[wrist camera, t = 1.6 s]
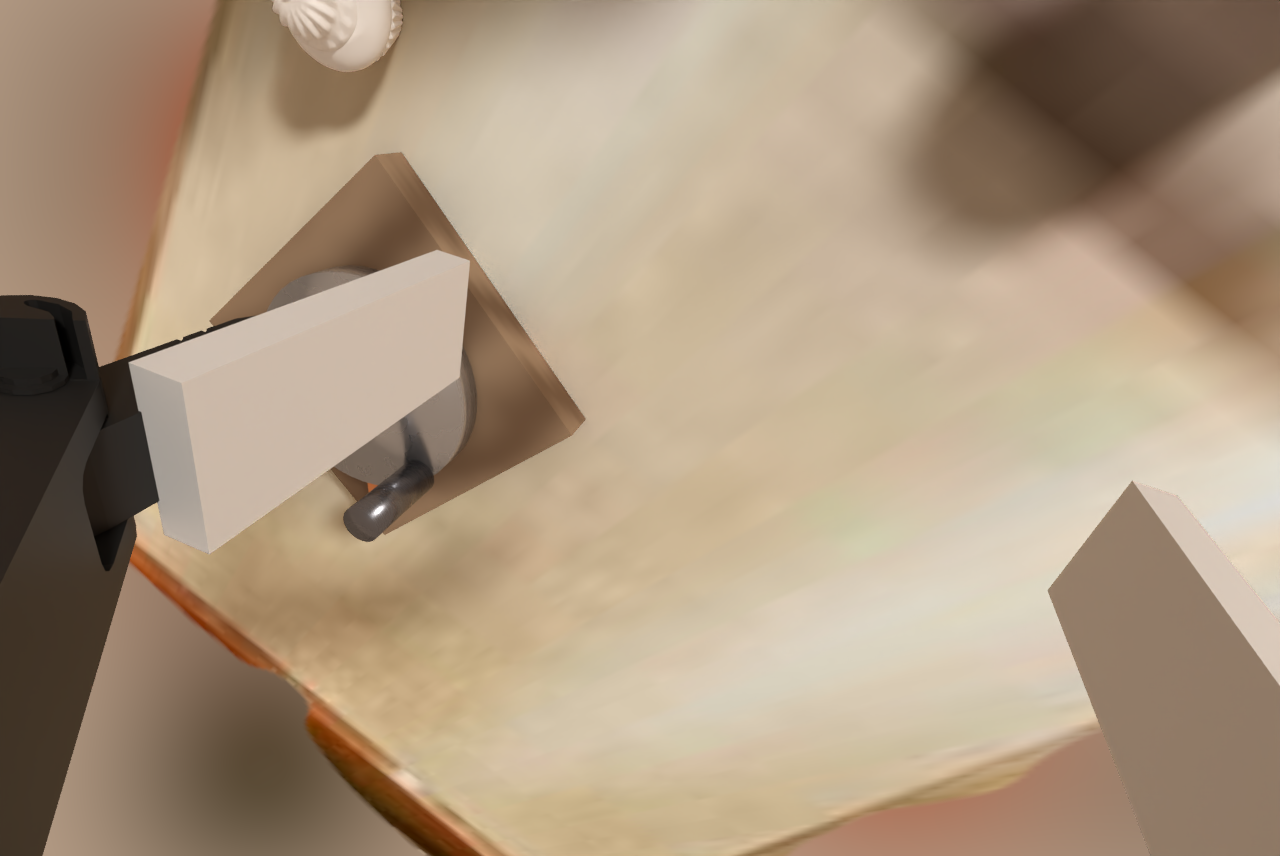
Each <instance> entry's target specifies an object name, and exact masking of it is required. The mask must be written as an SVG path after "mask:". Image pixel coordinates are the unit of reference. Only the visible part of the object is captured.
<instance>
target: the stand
mask: <svg viewBox="0 0 1280 856" xmlns="http://www.w3.org/2000/svg"><path fill="white" fill-rule="evenodd" d="M435 250H439V251H442V252H445V253H448V254H451V255H454V256H457V257H460V258H463V259H466V260H469V261H470V267H469V278H468V289H467V301H466V312H465V323H464V334H463V345H462V346H463V347H464V349H465V351H466V354H467V356H468V359H469V362H470V364H471V367H472V371H473V375H474V379H475V384H476V391H477V412H476V420H475V424H474V427H473V431H472V433H471V436H470V438H469V440H468V442H467V444H466V445H465V446H464V448H463V449H462V451H461V452H460V453H459V454H458V455H457V456H456V457H455V458H454V459H453V460H452V461H450V462H449V463H448V464H447V465H446V466H445V467H444V468H443V469H441V470H440V471H439V472H438V473H437V474H435V475H434V485H433V487H432V488H431V489H430V490H429V491H428V492H427V493H426V494H424V495H423V496H422V497H421V498H420V499H419V500H418V501H417V502H416V503H414V504H413V505H412V506H411V507H410V508H409V509H408V510H407V511H406V512H405V513H403V514H402V515H401V516H400V517H399V518H398V519H397V520H396V521H395V522H393V523H392V524H391V525H390V526H389V527H388V528H387V529H386V530H385V531H384V532H383V533H384V535H385V534H387V533H389V532H391V531H393V530H395V529H397V528H399V527H400V526H402V525H404V524H406V523H408V522H410V521H412V520H414V519H416V518H417V517H419V516H421V515H423V514H425V513H427V512H429V511H431V510H432V509H434V508H436V507H438V506H440V505H442V504H444V503H446V502H447V501H449V500H451V499H453V498H455V497H457V496H459V495H461V494H463V493H464V492H466V491H468V490H470V489H472V488H474V487H476V486H478V485H479V484H481V483H483V482H485V481H487V480H489V479H491V478H493V477H495V476H496V475H498V474H500V473H502V472H504V471H506V470H508V469H510V468H511V467H513V466H515V465H517V464H519V463H521V462H523V461H525V460H527V459H528V458H530V457H532V456H534V455H536V454H538V453H540V452H542V451H543V450H545V449H547V448H549V447H551V446H553V445H555V444H557V443H558V442H560V441H562V440H564V439H566V438H568V437H570V436H572V435H573V433H574V432H575V431H576V430H577V429H578V428H579V426H580V425H581V424H582V423H583V422H584V421H585V418H584V416H583V415H582V413H581V412H580V410H579V409H578V407H577V406H576V404H575V403H574V402H573V400H572V399H571V397H570V396H569V394H568V393H567V391H566V390H565V389H564V387H563V386H562V384H561V383H560V381H559V380H558V378H557V377H556V376H555V374H554V373H553V371H552V370H551V368H550V367H549V365H548V364H547V362H546V361H545V360H544V358H543V357H542V355H541V354H540V352H539V351H538V349H537V348H536V347H535V345H534V344H533V342H532V341H531V339H530V338H529V336H528V335H527V334H526V332H525V331H524V329H523V328H522V326H521V325H520V323H519V322H518V321H517V319H516V318H515V316H514V315H513V313H512V312H511V310H510V309H509V307H508V306H507V305H506V303H505V302H504V300H503V299H502V297H501V296H500V294H499V293H498V292H497V290H496V289H495V287H494V286H493V284H492V283H491V281H490V280H489V279H488V277H487V276H486V274H485V273H484V271H483V270H482V268H481V267H480V266H479V264H478V263H477V261H476V260H475V258H474V257H473V255H472V254H471V252H470V251H469V250H468V248H467V247H466V245H465V244H464V242H463V241H462V239H461V238H460V237H459V235H458V234H457V232H456V231H455V229H454V228H453V226H452V225H451V224H450V222H449V221H448V219H447V218H446V216H445V215H444V213H443V212H442V210H441V209H440V208H439V206H438V205H437V203H436V202H435V200H434V199H433V197H432V196H431V195H430V193H429V192H428V190H427V189H426V187H425V186H424V184H423V183H422V182H421V180H420V179H419V177H418V176H417V174H416V173H415V171H414V170H413V169H412V167H411V166H410V164H409V163H408V161H407V160H406V158H405V157H404V155H403V154H402V153H401V152H400V153H391V154H381V155H375V156H374V157H373V158H372V159H371V160H370V161H369V162H368V163H367V164H366V165H365V166H364V167H363V168H362V169H361V170H360V171H359V172H358V173H357V174H356V175H355V176H354V177H353V178H352V179H351V180H350V181H349V182H348V183H347V184H346V185H345V186H344V187H343V188H342V189H341V190H340V191H339V192H338V193H337V194H336V195H335V196H334V197H333V198H332V199H331V200H330V201H329V202H328V203H327V204H326V205H325V206H324V207H323V208H322V209H321V210H320V211H319V212H318V213H317V214H316V215H315V216H314V217H313V218H312V219H311V220H310V221H309V222H308V223H307V224H306V225H305V226H304V227H303V228H302V229H301V230H300V231H299V232H298V233H297V234H296V235H295V236H294V237H293V238H292V239H291V240H290V241H289V242H288V243H287V244H286V245H285V246H284V247H283V248H282V249H281V250H280V251H279V252H278V253H277V254H276V255H275V256H274V257H273V258H272V259H271V260H270V261H269V262H268V263H267V264H266V265H265V266H264V267H263V268H262V269H261V270H260V271H259V272H258V273H257V274H256V275H255V276H254V277H253V278H252V279H251V280H250V281H249V282H248V283H247V284H246V285H245V286H244V287H243V288H242V289H241V290H240V291H239V292H238V293H237V294H236V295H235V296H234V297H233V298H232V299H231V300H230V301H229V302H228V303H227V304H226V305H225V306H224V307H223V308H222V309H221V310H220V311H219V312H218V313H217V314H216V315H215V316H214V317H213V318H212V319H211V320H210V322H211V323H212V325H213V326H216V325H219V324H222V323H225V322H227V321H230V320H233V319H236V318H243V317H249V316H256V315H260V314H263V313H265V312H267V309H268V307H269V305H270V304H271V302H272V300H273V299H274V297H275V296H276V295H277V294H278V293H279V291H280V290H281V289H282V288H284V287H285V286H286V285H287V284H289V283H290V282H292V281H294V280H296V279H298V278H300V277H302V276H305V275H309V274H312V273H315V272H318V271H322V270H325V269H328V268H332V267H335V266H345V265H353V266H364V267H368V268H373V269H377V270H379V271H380V270H383V269H386V268H389V267H391V266H394V265H397V264H400V263H402V262H405V261H408V260H411V259H413V258H416V257H419V256H422V255H424V254H427V253H430V252H433V251H435ZM331 470H332V471H333V472H334V474H335V475H336V476H337V477H338V478H339V480H340V481H341V482H342V483H343V485H344V486H345V487H346V488H347V489H348V491H349V492H350V493H351V494H352V496H353V497H354V498H355V499H356V500H357V502H358V501H359V500H360V499H361V498H363V497H364V496H365V495H366V494H368V493H369V491H368V483H367V482H364V481H361V480H358V479H356V478H354V477H351V476H349V475H347V474H345V473H344V472H342V471H340V470H338V469H337V468H335V467H332V468H331Z"/></svg>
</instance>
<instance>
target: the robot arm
mask: <svg viewBox="0 0 1280 856" xmlns="http://www.w3.org/2000/svg"><path fill="white" fill-rule="evenodd" d="M469 267H470V261H469V260H466V259H463V258H460V257H457V256H454V255H451V254H448V253H445V252H442V251H439V250H435V251H433V252H430V253H427V254H424V255H422V256H419V257H416V258H413V259H411V260H408V261H405V262H402V263H400V264H397V265H394V266H391V267H389V268H386V269H383V270H380V271H378V272H375V273H372V274H369V275H367V276H364V277H361V278H359V279H356V280H353V281H350V282H348V283H345V284H342V285H339V286H337V287H334V288H331V289H328V290H326V291H323V292H320V293H317V294H315V295H312V296H309V297H306V298H304V299H301V300H298V301H296V302H293V303H290V304H287V305H285V306H282V307H279V308H276V309H274V310H271V311H268V312H265V313H263V314H260V315H256V316H249V317H243V318H236V319H233V320H230V321H227V322H225V323H222V324H219V325H216V326H213V327H211V328H208V329H207V331H206V332H203V331H199V332H197V333H194V334H191V335H188V336H185V337H183V340H182V341H180V340H174V341H171V342H169V343H166V344H163V345H160V346H157V347H155V348H152V349H149V350H146V351H143V352H141V353H138V354H135V355H132V356H129V357H127V358H124V359H121V360H118V361H115V362H113V363H110V364H107V365H104V366H101V367H99V366H98V362H97V358H96V353H95V349H94V345H93V341H92V336H91V332H90V328H89V324H88V319H87V315H86V312H85V311H84V310H83V309H82V308H80V307H79V306H78V305H76V304H75V303H71V302H67V301H64V300H61V299H58V298H51V297H42V296H33V295H8V296H0V856H42V855H43V852H44V848H45V845H46V842H47V838H48V835H49V831H50V828H51V825H52V821H53V818H54V815H55V811H56V808H57V804H58V801H59V798H60V794H61V791H62V787H63V784H64V781H65V777H66V774H67V770H68V767H69V764H70V760H71V757H72V754H73V750H74V747H75V743H76V740H77V737H78V733H79V730H80V727H81V723H82V720H83V716H84V713H85V710H86V706H87V703H88V699H89V696H90V692H91V689H92V686H93V682H94V679H95V676H96V672H97V669H98V666H99V662H100V659H101V655H102V652H103V648H104V645H105V642H106V639H107V635H108V632H109V628H110V625H111V621H112V618H113V615H114V611H115V608H116V605H117V601H118V598H119V595H120V591H121V588H122V584H123V581H124V577H125V574H126V571H127V567H128V564H129V561H130V557H131V554H132V551H133V547H134V544H135V540H136V537H137V534H136V524H135V520H134V515H136V514H137V513H139V512H141V511H142V510H144V509H146V508H148V507H149V506H151V505H153V504H155V503H156V502H157V503H158V508H159V513H160V517H161V522H162V527H163V532H164V535H166V536H168V537H170V538H173V539H175V540H177V541H180V542H182V543H184V544H187V545H189V546H191V547H193V548H196V549H198V550H200V551H203V552H205V553H207V554H211V553H212V552H213V551H215V550H216V549H218V548H219V547H220V546H222V545H223V544H225V543H226V542H228V541H229V540H230V539H232V538H233V537H235V536H236V535H237V534H239V533H240V532H242V531H243V530H245V529H246V528H247V527H249V526H250V525H252V524H253V523H254V522H256V521H257V520H259V519H260V518H261V517H263V516H264V515H266V514H267V513H269V512H270V511H271V510H273V509H274V508H276V507H277V506H278V505H280V504H281V503H283V502H284V501H286V500H287V499H288V498H290V497H291V496H293V495H294V494H295V493H297V492H298V491H300V490H301V489H302V488H304V487H305V486H307V485H308V484H310V483H311V482H312V481H314V480H315V479H317V478H318V477H319V476H321V475H322V474H324V473H325V472H327V471H328V470H329V469H331V468H332V467H334V466H335V465H336V464H338V463H339V462H341V461H342V460H344V459H345V458H346V457H348V456H349V455H351V454H352V453H353V452H355V451H356V450H358V449H359V448H360V447H362V446H363V445H365V444H366V443H368V442H369V441H370V440H372V439H373V438H375V437H376V436H377V435H379V434H380V433H382V432H383V431H385V430H386V429H387V428H389V427H390V426H392V425H393V424H394V423H396V422H397V421H399V420H400V419H401V418H403V417H404V416H406V415H407V414H409V413H410V412H411V411H413V410H414V409H416V408H417V407H418V406H420V405H421V404H423V403H424V402H426V401H427V400H428V399H430V398H431V397H433V396H434V395H435V394H437V393H438V392H440V391H441V390H442V389H444V388H445V387H447V386H448V385H450V384H451V383H452V382H454V381H455V380H457V379H458V378H459V377H460V367H461V356H462V345H463V334H464V323H465V312H466V301H467V289H468V278H469ZM1048 593H1049V595H1050V598H1051V600H1052V603H1053V605H1054V608H1055V611H1056V613H1057V616H1058V618H1059V621H1060V624H1061V626H1062V629H1063V631H1064V634H1065V636H1066V639H1067V642H1068V644H1069V647H1070V649H1071V652H1072V655H1073V657H1074V660H1075V662H1076V665H1077V667H1078V670H1079V673H1080V675H1081V678H1082V680H1083V683H1084V685H1085V688H1086V691H1087V693H1088V696H1089V698H1090V701H1091V704H1092V706H1093V709H1094V711H1095V714H1096V716H1097V719H1098V722H1099V724H1100V727H1101V729H1102V732H1103V734H1104V737H1105V740H1106V742H1107V745H1108V747H1109V750H1110V752H1111V755H1112V758H1113V760H1114V763H1115V765H1116V768H1117V771H1118V773H1119V776H1120V778H1121V781H1122V783H1123V786H1124V789H1125V791H1126V794H1127V796H1128V799H1129V802H1130V804H1131V807H1132V809H1133V812H1134V814H1135V817H1136V819H1137V822H1138V825H1139V827H1140V830H1141V833H1142V835H1143V838H1144V840H1145V843H1146V845H1147V848H1148V850H1149V853H1150V856H1280V622H1279V621H1278V620H1277V618H1276V617H1275V616H1274V615H1273V613H1272V612H1271V611H1270V610H1269V608H1268V607H1267V606H1266V605H1265V603H1264V602H1263V601H1262V600H1261V598H1260V597H1259V596H1258V595H1257V594H1256V592H1255V591H1254V590H1253V589H1252V587H1251V586H1250V585H1249V584H1248V582H1247V581H1246V580H1245V579H1244V577H1243V576H1242V575H1241V574H1240V572H1239V571H1238V570H1237V569H1236V567H1235V566H1234V565H1233V564H1232V562H1231V561H1230V560H1229V559H1228V558H1227V556H1226V555H1225V554H1224V553H1223V551H1222V550H1221V549H1220V548H1219V546H1218V545H1217V544H1216V543H1215V541H1214V540H1213V539H1212V538H1211V536H1210V535H1209V534H1208V533H1207V531H1206V530H1205V529H1204V528H1203V526H1202V525H1201V524H1200V523H1199V522H1198V520H1197V519H1196V518H1195V517H1194V515H1193V514H1192V513H1191V512H1190V510H1189V509H1188V508H1187V507H1186V505H1185V504H1184V503H1183V502H1182V500H1181V499H1180V498H1179V497H1178V496H1177V495H1174V494H1171V493H1168V492H1165V491H1162V490H1159V489H1156V488H1153V487H1150V486H1147V485H1144V484H1141V483H1138V482H1135V481H1132V482H1131V483H1130V484H1129V486H1128V487H1127V488H1126V490H1125V491H1124V492H1123V493H1122V495H1121V496H1120V497H1119V499H1118V500H1117V501H1116V503H1115V504H1114V505H1113V506H1112V508H1111V509H1110V510H1109V512H1108V513H1107V514H1106V515H1105V517H1104V518H1103V519H1102V521H1101V522H1100V523H1099V525H1098V526H1097V527H1096V528H1095V530H1094V531H1093V532H1092V534H1091V535H1090V536H1089V538H1088V539H1087V540H1086V541H1085V543H1084V544H1083V545H1082V547H1081V548H1080V549H1079V550H1078V552H1077V553H1076V554H1075V556H1074V557H1073V558H1072V560H1071V561H1070V562H1069V563H1068V565H1067V566H1066V567H1065V569H1064V570H1063V571H1062V572H1061V574H1060V575H1059V576H1058V578H1057V579H1056V580H1055V582H1054V583H1053V584H1052V585H1051V587H1050V588H1049V589H1048Z"/></svg>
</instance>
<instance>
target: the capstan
mask: <svg viewBox="0 0 1280 856" xmlns="http://www.w3.org/2000/svg"><path fill="white" fill-rule="evenodd" d="M378 271H379V270H377V269H373V268H368V267H364V266H353V265H345V266H335V267H332V268H328V269H325V270H322V271H318V272H315V273H312V274H309V275H305V276H302V277H300V278H298V279H296V280H294V281H292V282H290V283H289V284H287V285H286V286H285V287H284V288H282V289H281V290H280V291H279V293H278V294H277V295H276V296H275V297H274V299H273V300H272V302H271V304H270V305H269V307H268V309H267V312H268V311H271V310H274V309H276V308H279V307H282V306H285V305H287V304H290V303H293V302H296V301H298V300H301V299H304V298H306V297H309V296H312V295H315V294H317V293H320V292H323V291H326V290H328V289H331V288H334V287H337V286H339V285H342V284H345V283H348V282H350V281H353V280H356V279H359V278H361V277H364V276H367V275H369V274H372V273H375V272H378ZM476 412H477V391H476V384H475V379H474V375H473V371H472V367H471V364H470V362H469V359H468V356H467V354H466V351H465V349H464V347H463V346H462V356H461V367H460V377H459V378H458V379H457V380H455V381H454V382H452V383H451V384H450V385H448V386H447V387H445V388H444V389H442V390H441V391H440V392H438V393H437V394H435V395H434V396H433V397H431V398H430V399H428V400H427V401H426V402H424V403H423V404H421V405H420V406H418V407H417V408H416V409H414V410H413V411H411V412H410V413H409V414H407V415H406V416H404V417H403V418H401V419H400V420H399V421H397V422H396V423H394V424H393V425H392V426H390V427H389V428H387V429H386V430H385V431H383V432H382V433H380V434H379V435H377V436H376V437H375V438H373V439H372V440H370V441H369V442H368V443H366V444H365V445H363V446H362V447H360V448H359V449H358V450H356V451H355V452H353V453H352V454H351V455H349V456H348V457H346V458H345V459H344V460H342V461H341V462H339V463H338V464H336V465H335V466H334V467H335V468H337V469H338V470H340V471H342V472H344V473H345V474H347V475H349V476H351V477H354V478H356V479H358V480H361V481H364V482H367V483H368V491H369V493H368V494H366V495H365V496H364V497H363V498H361V499H360V500H359V501H358V502H356V503H355V504H354V505H353V506H351V507H350V508H349V509H348V510H346V511H345V513H344V516H343V519H344V524H345V526H346V528H347V529H348V531H349V532H350V533H351V534H352V535H353V536H354V537H356V538H357V539H359V540H362V541H366V542H370V541H373V540H375V539H376V538H377V537H378V536H379V535H380V534H381V533H382V532H384V531H385V530H386V529H387V528H388V527H389V526H390V525H391V524H392V523H393V522H395V521H396V520H397V519H398V518H399V517H400V516H401V515H402V514H403V513H405V512H406V511H407V510H408V509H409V508H410V507H411V506H412V505H413V504H414V503H416V502H417V501H418V500H419V499H420V498H421V497H422V496H423V495H424V494H426V493H427V492H428V491H429V490H430V489H431V488H432V487H433V485H434V475H435V474H437V473H438V472H439V471H440V470H441V469H443V468H444V467H445V466H446V465H447V464H448V463H449V462H450V461H452V460H453V459H454V458H455V457H456V456H457V455H458V454H459V453H460V452H461V451H462V449H463V448H464V446H465V445H466V444H467V442H468V440H469V438H470V436H471V433H472V431H473V427H474V424H475V420H476Z"/></svg>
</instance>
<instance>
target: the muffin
mask: <svg viewBox="0 0 1280 856" xmlns="http://www.w3.org/2000/svg"><path fill="white" fill-rule="evenodd" d="M271 1H272V2H273V7H272V10H273V12H275V13H277V14H279V19H280V23H281V24H282V25H283V26H287V27H288V28H289V30H290V32H291V34H292V35H293V37H294V38H295V40H296V41H297V43H298V44H299V45H300V46H301V47H302V49H303V50H304V51H305V52H306V53H307V54H309V55H310V56H311V57H312V58H313V59H315V60H316V61H317V62H319V63H320V64H322V65H324V66H326V67H328V68H330V69H333V70H336V71H341V72H354V71H359V70H362V69H364V68H367V67H368V66H370V65H371V64H373V63H374V62H377V61H378V60H379V59H380V58H381V56H384V55H385V53H386V52H387V51H388V49H389V48H390V47H391V45H392V44H393V43H394V42H395V40H396V38H397V37H398V36H399V32H400V31H401V25H402V24H403V22H402V19H403V15H402V11H403V10H402V8H401V7H400V3H401V2H400V0H271Z"/></svg>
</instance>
